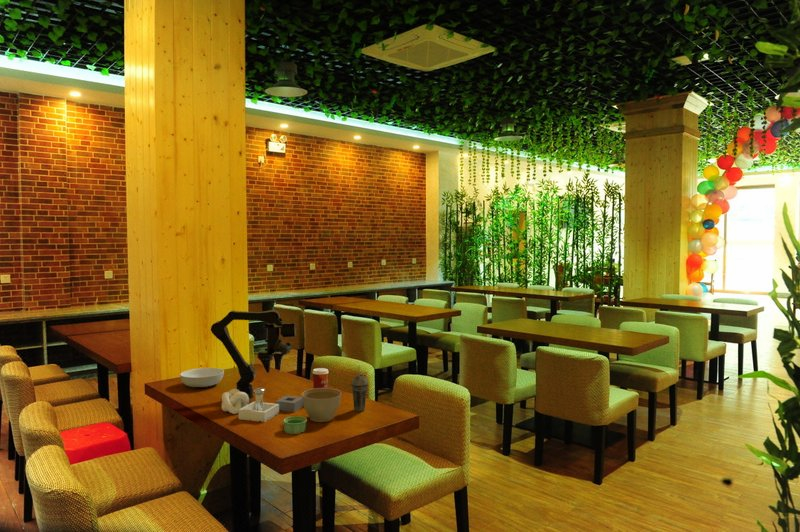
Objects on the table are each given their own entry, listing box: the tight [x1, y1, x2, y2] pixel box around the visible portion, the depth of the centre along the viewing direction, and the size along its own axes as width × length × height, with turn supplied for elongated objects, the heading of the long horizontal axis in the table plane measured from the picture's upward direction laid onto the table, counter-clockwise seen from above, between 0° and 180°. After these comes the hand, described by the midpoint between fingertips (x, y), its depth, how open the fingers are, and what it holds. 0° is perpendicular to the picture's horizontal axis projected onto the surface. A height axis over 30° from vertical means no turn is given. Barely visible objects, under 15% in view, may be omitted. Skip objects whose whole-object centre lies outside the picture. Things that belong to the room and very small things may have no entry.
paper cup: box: [311, 367, 329, 389], centre depth 252 cm, size 8×8×14 cm
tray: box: [238, 401, 280, 423], centre depth 226 cm, size 12×12×4 cm
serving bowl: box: [179, 367, 225, 388], centre depth 273 cm, size 21×21×7 cm
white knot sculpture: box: [221, 388, 250, 415], centre depth 233 cm, size 11×12×9 cm
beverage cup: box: [351, 365, 369, 413], centre depth 236 cm, size 7×7×20 cm
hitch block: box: [275, 395, 304, 413], centre depth 238 cm, size 9×9×4 cm
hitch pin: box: [253, 387, 266, 411], centre depth 226 cm, size 5×5×10 cm
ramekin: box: [283, 415, 308, 435], centre depth 210 cm, size 9×9×4 cm
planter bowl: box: [301, 387, 342, 423], centre depth 224 cm, size 16×16×11 cm
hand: (272, 370), depth 253 cm, fingers open, 9 cm apart
